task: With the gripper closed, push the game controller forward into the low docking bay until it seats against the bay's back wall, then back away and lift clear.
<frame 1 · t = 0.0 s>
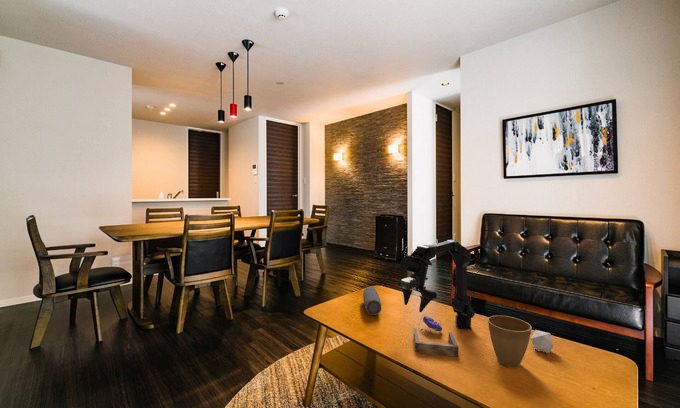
hand: (412, 308, 130), 15 cm above the table, tool pointing down, fingers open, 9 cm apart
docking bay: (434, 345, 128), on the table
die: (541, 350, 125), on the table
game controller: (430, 332, 141), on the table
plant pot: (507, 362, 116), on the table
bluetooth speaker: (371, 309, 168), on the table
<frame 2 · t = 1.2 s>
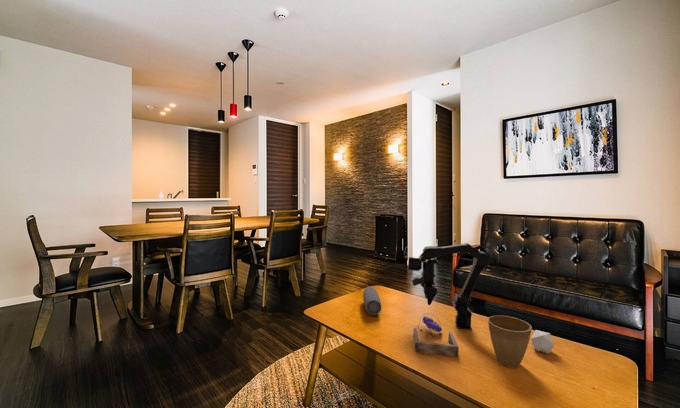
hand: (427, 301, 150), 11 cm above the table, tool pointing down, fingers open, 9 cm apart
nothing on the table moved.
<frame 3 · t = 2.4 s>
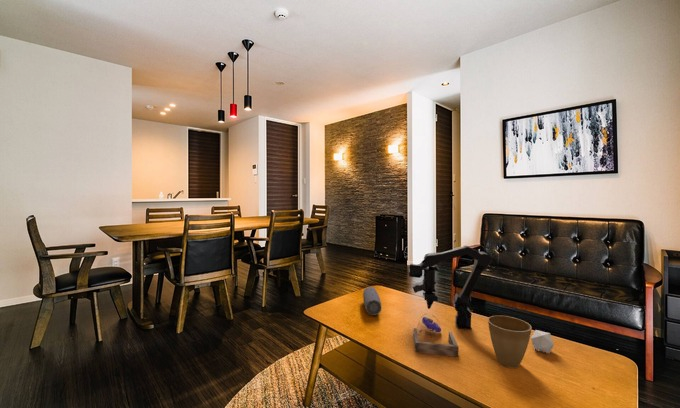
hand: (428, 308, 151), 7 cm above the table, tool pointing down, fingers closed
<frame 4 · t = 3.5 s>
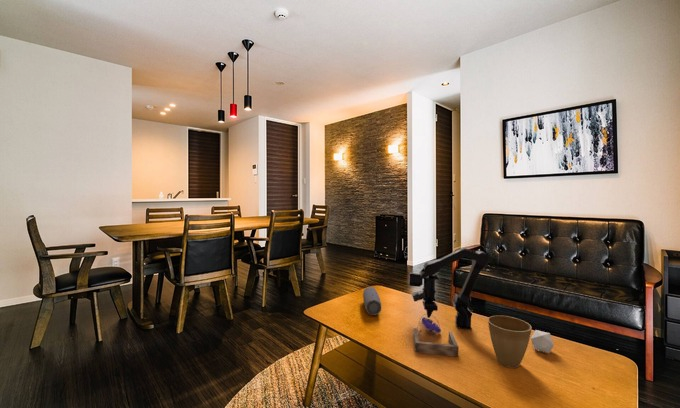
hand: (428, 317, 150), 3 cm above the table, tool pointing down, fingers closed
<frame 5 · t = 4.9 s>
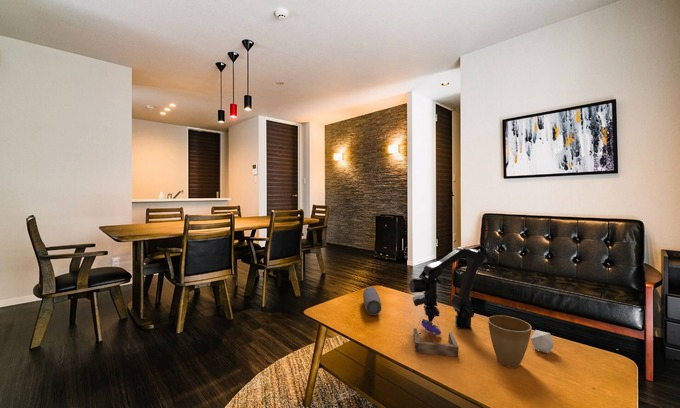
hand: (429, 322, 144), 3 cm above the table, tool pointing down, fingers closed
game controller: (429, 336, 136), on the table, touching gripper
everything else where it was.
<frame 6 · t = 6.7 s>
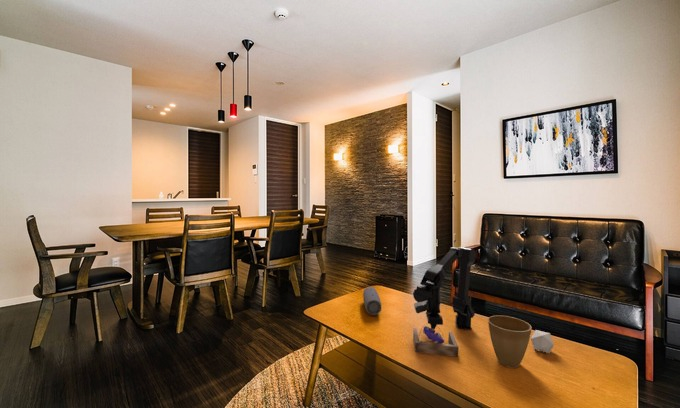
hand: (432, 330, 136), 3 cm above the table, tool pointing down, fingers closed
game controller: (431, 345, 129), on the table, touching docking bay, gripper
everything else where it was.
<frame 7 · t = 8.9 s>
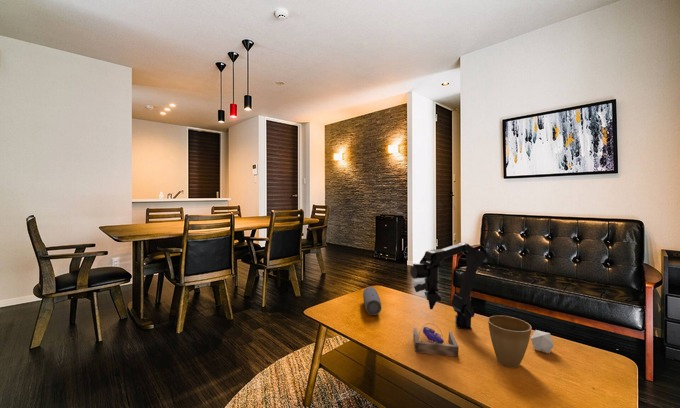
hand: (431, 309, 141), 11 cm above the table, tool pointing down, fingers closed
game controller: (430, 345, 129), on the table
everything else where it was.
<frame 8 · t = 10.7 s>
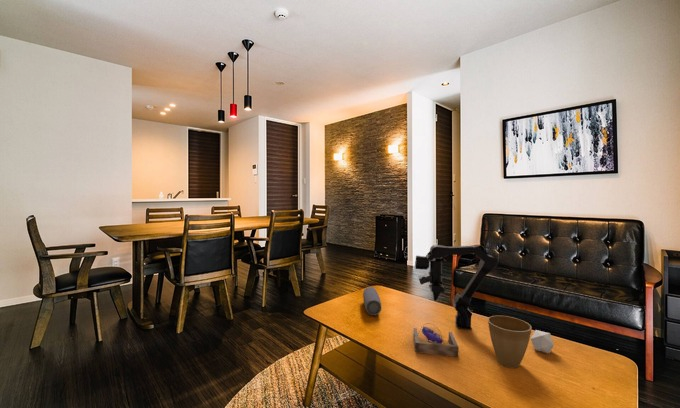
hand: (435, 300, 149), 12 cm above the table, tool pointing down, fingers closed
nothing on the table moved.
at the end: game controller 2.0 cm from the target spot on the docking bay, point 0.0 cm above the docking bay's base; game controller moved 12.5 cm from its start; game controller tilted 2° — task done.
